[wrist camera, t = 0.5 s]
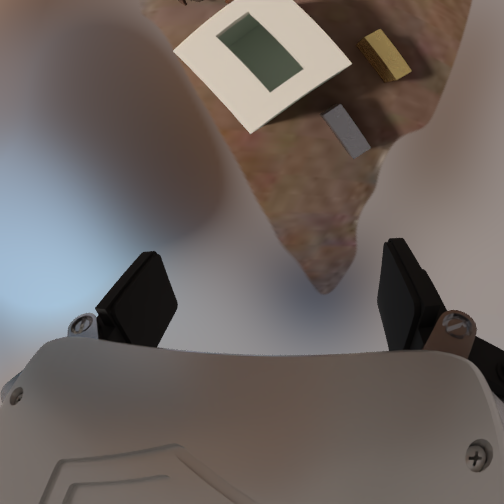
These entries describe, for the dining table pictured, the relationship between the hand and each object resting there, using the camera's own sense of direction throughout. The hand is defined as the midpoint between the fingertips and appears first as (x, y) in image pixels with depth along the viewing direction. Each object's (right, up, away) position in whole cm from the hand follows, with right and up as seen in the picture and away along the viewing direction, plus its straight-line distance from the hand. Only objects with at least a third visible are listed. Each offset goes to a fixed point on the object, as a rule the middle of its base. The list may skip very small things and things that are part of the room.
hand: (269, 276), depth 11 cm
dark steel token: (+11, +17, +20) cm, 28 cm away
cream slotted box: (+2, +24, +17) cm, 30 cm away
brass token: (+15, +25, +14) cm, 33 cm away
